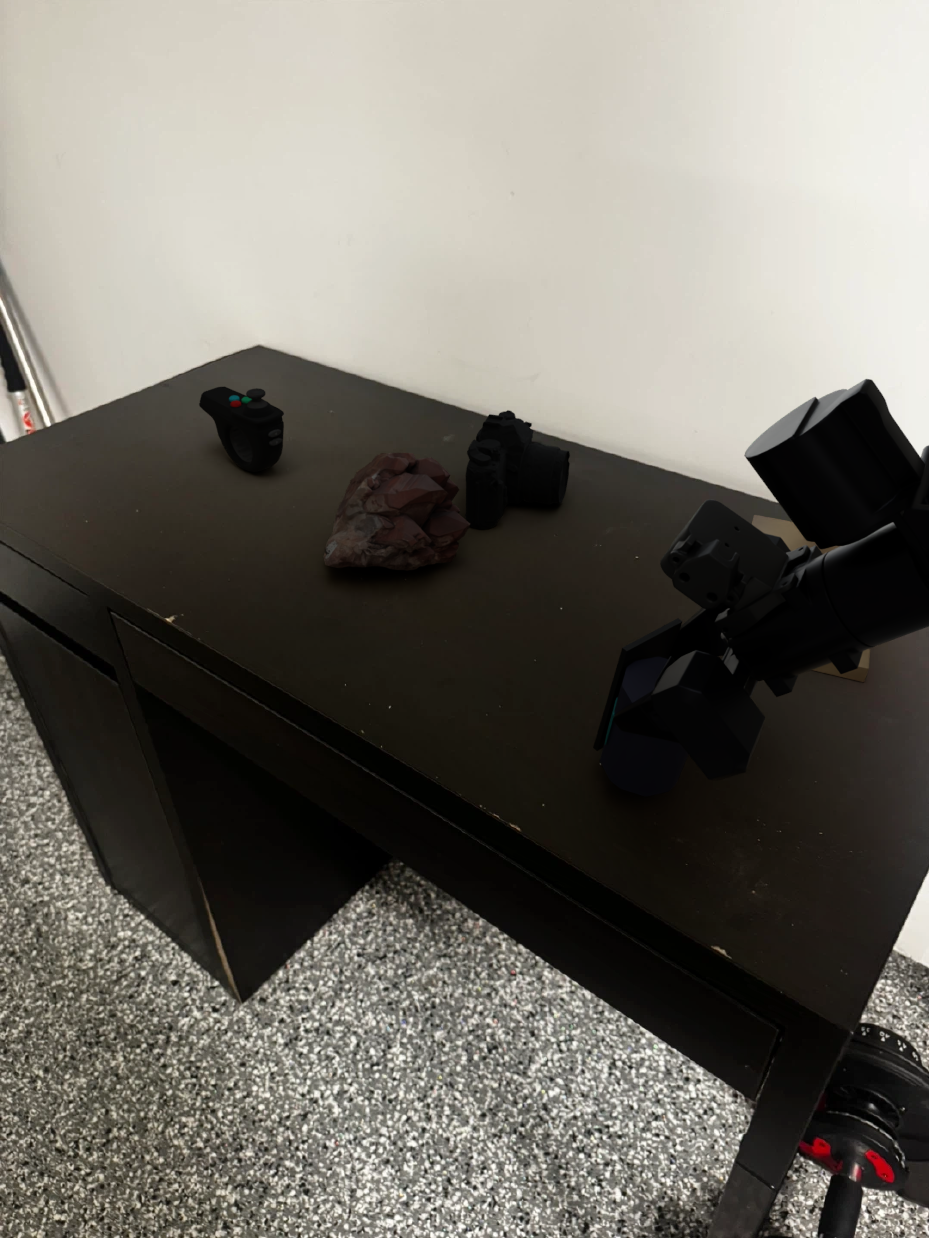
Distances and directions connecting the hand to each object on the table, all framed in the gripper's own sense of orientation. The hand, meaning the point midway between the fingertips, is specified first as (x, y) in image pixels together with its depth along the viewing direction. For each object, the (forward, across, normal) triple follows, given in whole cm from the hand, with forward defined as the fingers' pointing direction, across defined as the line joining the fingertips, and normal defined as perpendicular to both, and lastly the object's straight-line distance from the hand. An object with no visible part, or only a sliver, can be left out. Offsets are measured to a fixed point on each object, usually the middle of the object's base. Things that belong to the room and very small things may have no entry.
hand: (638, 687), depth 59 cm
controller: (+46, -25, -34) cm, 62 cm away
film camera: (+24, -33, -12) cm, 42 cm away
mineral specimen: (+27, -16, -15) cm, 35 cm away
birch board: (+2, -30, +10) cm, 32 cm away
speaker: (+4, 0, +6) cm, 7 cm away
